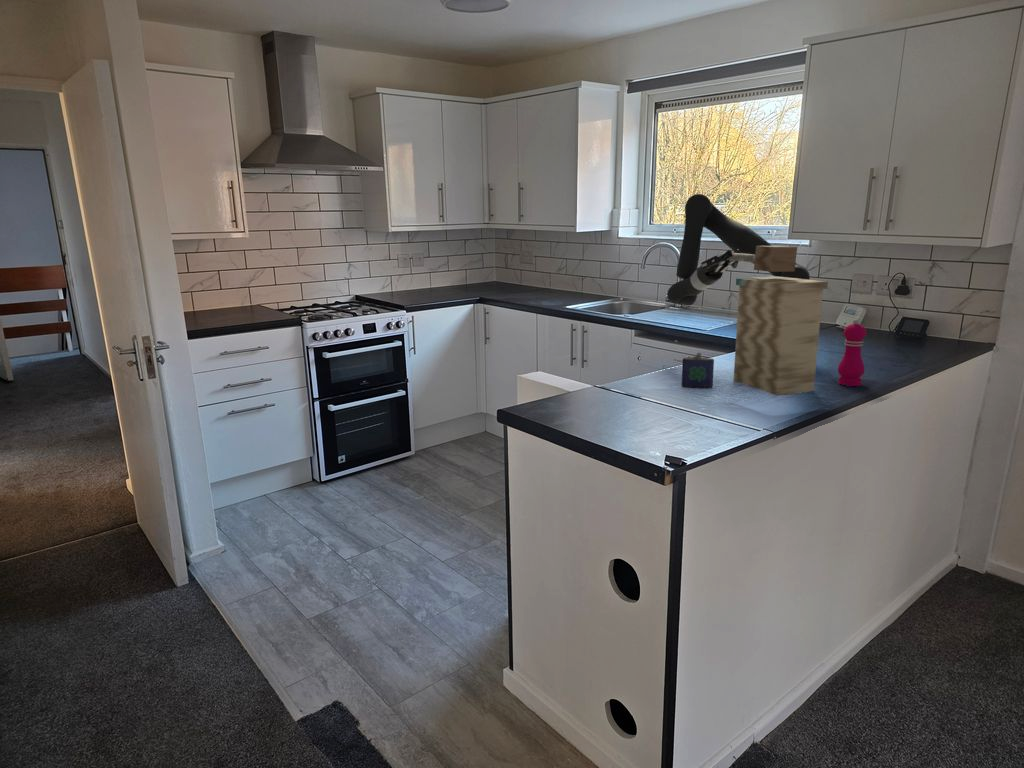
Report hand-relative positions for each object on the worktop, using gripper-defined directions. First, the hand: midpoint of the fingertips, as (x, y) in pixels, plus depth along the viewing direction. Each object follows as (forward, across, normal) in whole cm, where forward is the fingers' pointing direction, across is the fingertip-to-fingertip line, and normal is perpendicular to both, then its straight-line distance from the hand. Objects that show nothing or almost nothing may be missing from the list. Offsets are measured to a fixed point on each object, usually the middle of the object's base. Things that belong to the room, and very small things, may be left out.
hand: (734, 252), depth 210 cm
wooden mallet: (+6, 0, +8) cm, 10 cm away
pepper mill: (+6, +22, +49) cm, 54 cm away
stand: (0, 0, +45) cm, 45 cm away
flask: (-7, -22, +41) cm, 47 cm away
